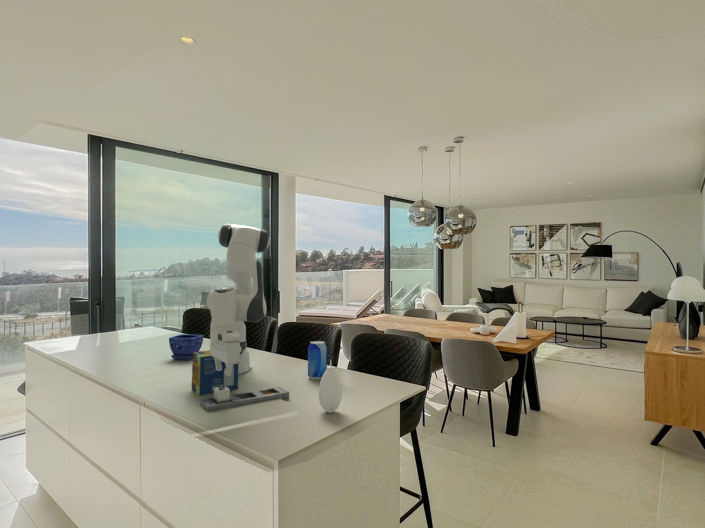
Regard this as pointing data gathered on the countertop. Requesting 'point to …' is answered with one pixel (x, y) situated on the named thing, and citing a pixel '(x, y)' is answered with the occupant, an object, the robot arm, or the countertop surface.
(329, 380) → the white teardrop vase
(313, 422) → the countertop surface
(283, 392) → the grey compartment tray
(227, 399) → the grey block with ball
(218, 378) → the protein box
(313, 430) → the countertop surface
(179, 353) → the flower pot
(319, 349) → the beer can
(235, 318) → the robot arm
